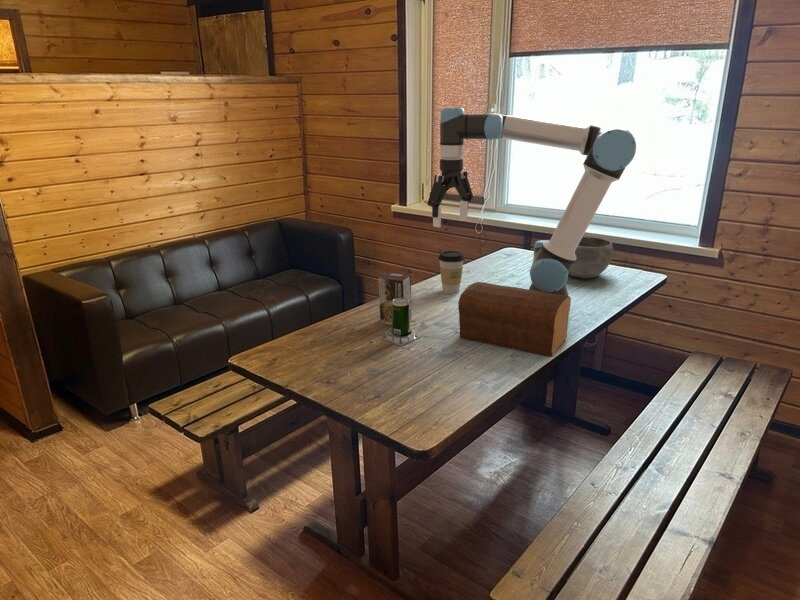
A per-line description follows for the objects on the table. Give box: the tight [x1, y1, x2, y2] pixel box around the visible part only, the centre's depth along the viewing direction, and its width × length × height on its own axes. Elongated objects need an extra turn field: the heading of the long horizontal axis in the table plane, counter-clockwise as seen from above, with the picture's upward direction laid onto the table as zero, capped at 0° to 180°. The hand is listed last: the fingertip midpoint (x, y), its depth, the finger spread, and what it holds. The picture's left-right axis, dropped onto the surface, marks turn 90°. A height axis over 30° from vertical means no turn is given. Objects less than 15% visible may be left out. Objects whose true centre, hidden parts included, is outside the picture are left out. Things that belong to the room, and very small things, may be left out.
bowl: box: [568, 236, 614, 279], centre depth 235 cm, size 21×21×15 cm
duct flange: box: [380, 327, 422, 347], centre depth 181 cm, size 9×9×2 cm
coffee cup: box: [438, 250, 466, 295], centre depth 220 cm, size 10×10×15 cm
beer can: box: [391, 297, 411, 337], centre depth 180 cm, size 5×5×12 cm
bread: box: [457, 281, 572, 357], centre depth 178 cm, size 18×30×16 cm, turn 60°
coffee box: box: [378, 272, 412, 326], centre depth 191 cm, size 9×6×16 cm
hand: (450, 223), depth 194 cm, fingers open, 13 cm apart
